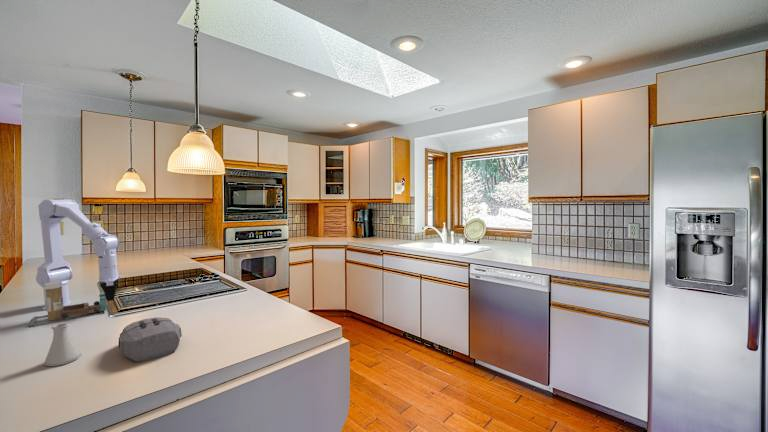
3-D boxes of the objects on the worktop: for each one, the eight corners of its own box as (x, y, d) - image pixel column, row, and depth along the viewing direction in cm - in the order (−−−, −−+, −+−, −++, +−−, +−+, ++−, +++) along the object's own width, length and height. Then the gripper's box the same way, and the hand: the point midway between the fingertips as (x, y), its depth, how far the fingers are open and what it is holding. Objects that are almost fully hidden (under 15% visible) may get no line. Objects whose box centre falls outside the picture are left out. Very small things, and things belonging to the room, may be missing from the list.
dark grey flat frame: (33, 318, 125) (33, 316, 125) (103, 306, 138) (103, 304, 138) (29, 327, 117) (29, 325, 117) (104, 313, 130) (104, 311, 130)
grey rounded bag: (187, 350, 99) (171, 330, 113) (186, 322, 98) (169, 306, 112) (123, 369, 88) (113, 345, 103) (120, 338, 88) (111, 318, 102)
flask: (60, 355, 96) (57, 320, 96) (87, 353, 97) (84, 319, 96) (36, 368, 89) (33, 331, 88) (66, 366, 90) (63, 329, 89)
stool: (62, 311, 130) (61, 298, 130) (105, 304, 138) (104, 292, 138) (60, 319, 122) (58, 305, 122) (105, 310, 130) (105, 298, 130)
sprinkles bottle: (63, 318, 125) (60, 282, 124) (45, 321, 122) (42, 284, 121) (65, 315, 128) (63, 280, 128) (49, 317, 126) (46, 282, 125)
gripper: (121, 267, 131) (124, 302, 132) (119, 262, 142) (121, 293, 143) (98, 270, 127) (100, 306, 128) (97, 264, 138) (100, 297, 139)
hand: (110, 300), depth 135 cm, fingers closed, pressing on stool
